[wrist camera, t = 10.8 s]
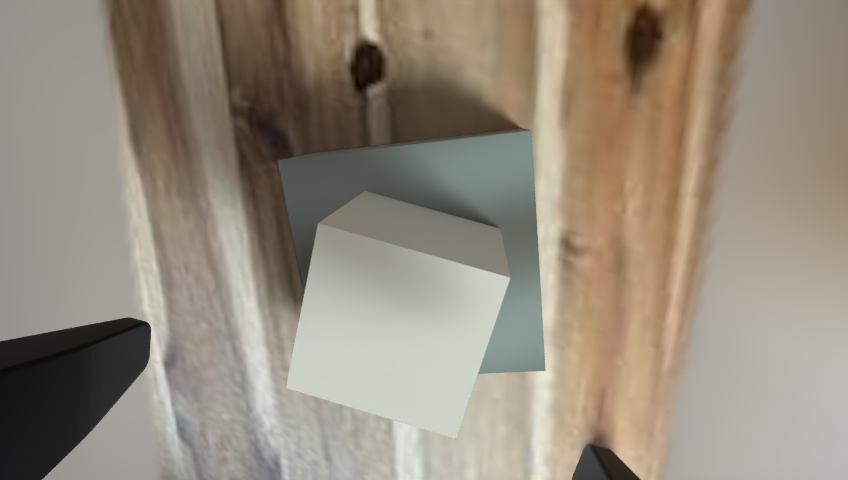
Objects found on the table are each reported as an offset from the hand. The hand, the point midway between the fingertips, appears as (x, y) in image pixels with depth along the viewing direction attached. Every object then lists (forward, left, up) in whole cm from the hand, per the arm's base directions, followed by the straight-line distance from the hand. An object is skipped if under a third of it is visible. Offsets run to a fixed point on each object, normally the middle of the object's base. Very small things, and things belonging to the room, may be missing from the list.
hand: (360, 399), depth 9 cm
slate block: (0, 0, -12) cm, 12 cm away
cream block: (0, 0, -8) cm, 8 cm away
